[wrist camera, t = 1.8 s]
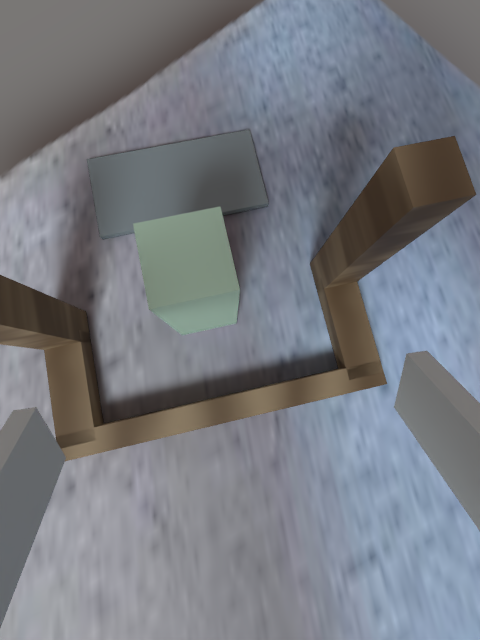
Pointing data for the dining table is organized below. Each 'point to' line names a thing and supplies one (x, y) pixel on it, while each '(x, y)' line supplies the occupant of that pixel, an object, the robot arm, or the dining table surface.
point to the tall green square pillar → (189, 270)
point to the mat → (176, 181)
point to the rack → (333, 290)
